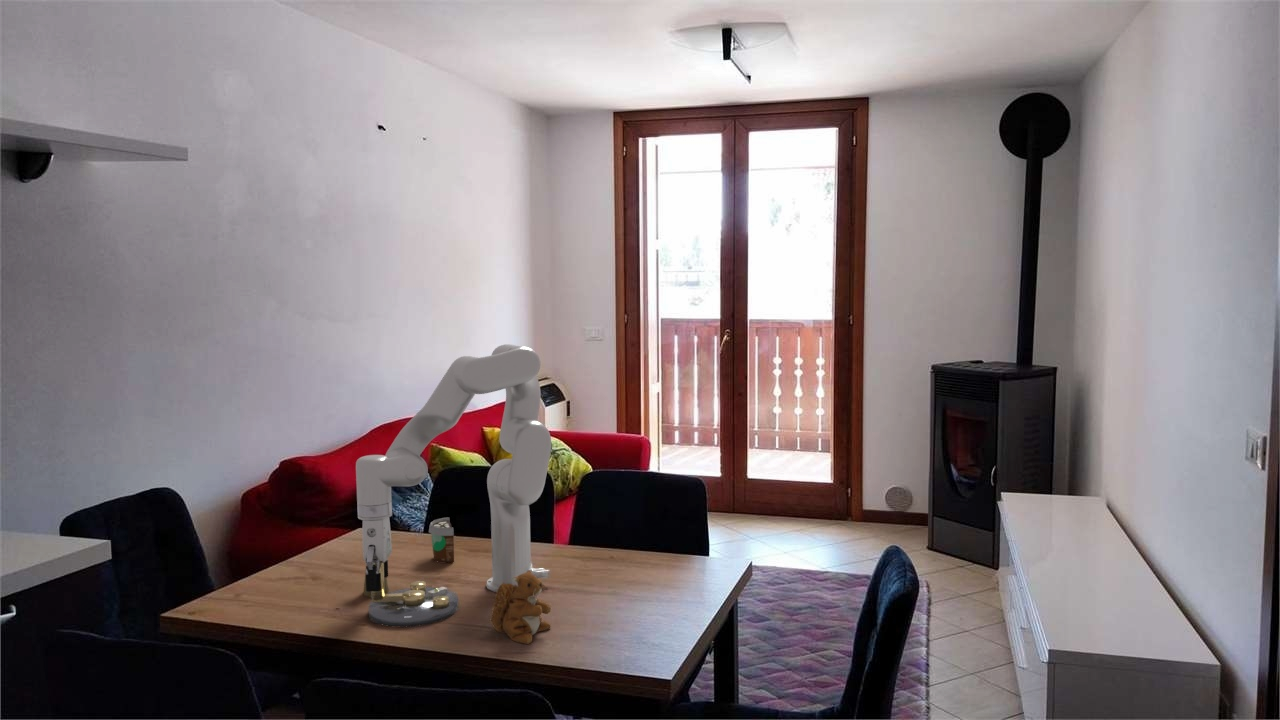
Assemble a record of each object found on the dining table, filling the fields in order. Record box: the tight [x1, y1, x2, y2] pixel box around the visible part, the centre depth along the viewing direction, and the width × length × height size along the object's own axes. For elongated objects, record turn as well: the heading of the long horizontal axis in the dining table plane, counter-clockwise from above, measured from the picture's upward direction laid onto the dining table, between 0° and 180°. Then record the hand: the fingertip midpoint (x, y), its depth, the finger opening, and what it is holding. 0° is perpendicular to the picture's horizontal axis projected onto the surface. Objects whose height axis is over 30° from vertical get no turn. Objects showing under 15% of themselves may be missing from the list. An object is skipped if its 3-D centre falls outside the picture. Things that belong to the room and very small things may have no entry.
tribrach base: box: [368, 580, 459, 628], centre depth 204 cm, size 20×20×4 cm
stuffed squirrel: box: [489, 571, 552, 645], centre depth 190 cm, size 10×14×13 cm
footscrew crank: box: [370, 562, 425, 605], centre depth 203 cm, size 12×5×9 cm, turn 97°
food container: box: [428, 517, 455, 564], centre depth 242 cm, size 12×6×10 cm, turn 17°
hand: (377, 583), depth 202 cm, fingers open, 8 cm apart
